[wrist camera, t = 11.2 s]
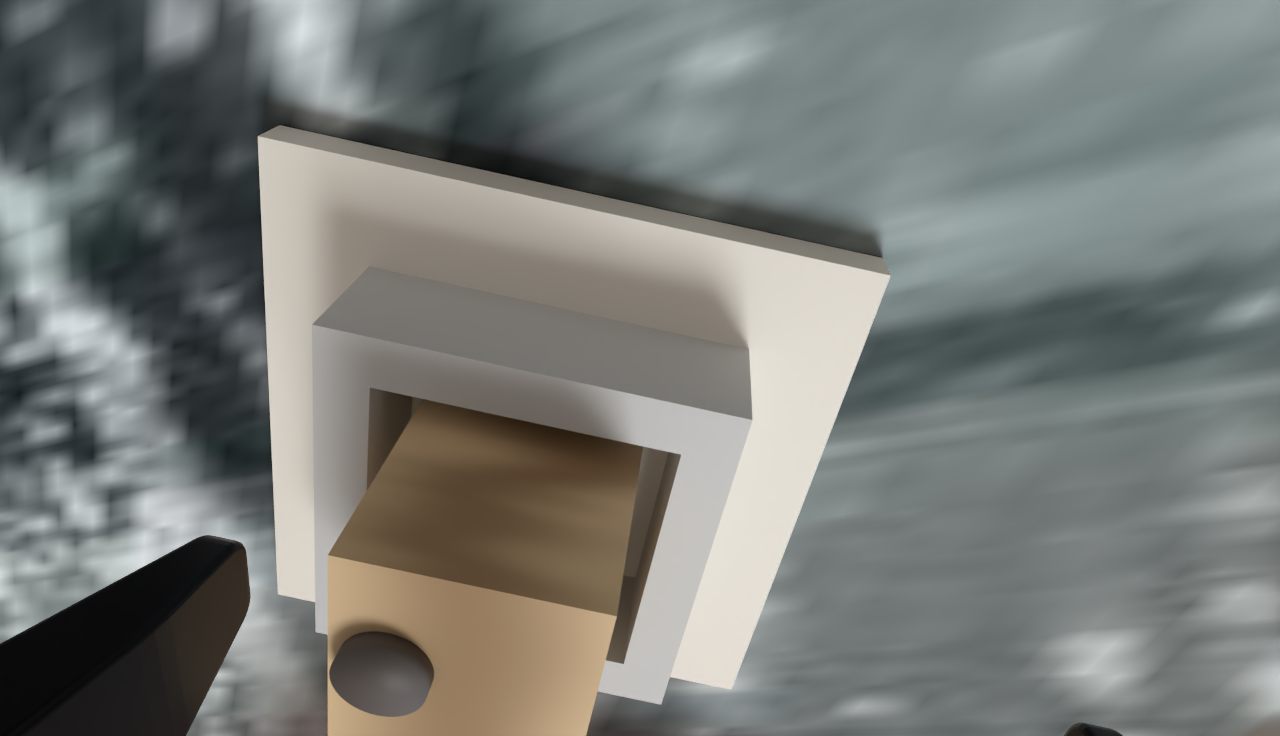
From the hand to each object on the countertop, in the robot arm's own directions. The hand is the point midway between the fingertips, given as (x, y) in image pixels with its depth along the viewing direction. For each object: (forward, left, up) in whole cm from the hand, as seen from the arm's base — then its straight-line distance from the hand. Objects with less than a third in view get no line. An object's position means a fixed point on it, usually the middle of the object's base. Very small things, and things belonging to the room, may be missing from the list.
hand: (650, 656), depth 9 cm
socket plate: (+3, +6, -12) cm, 14 cm away
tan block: (+3, +6, -11) cm, 13 cm away
